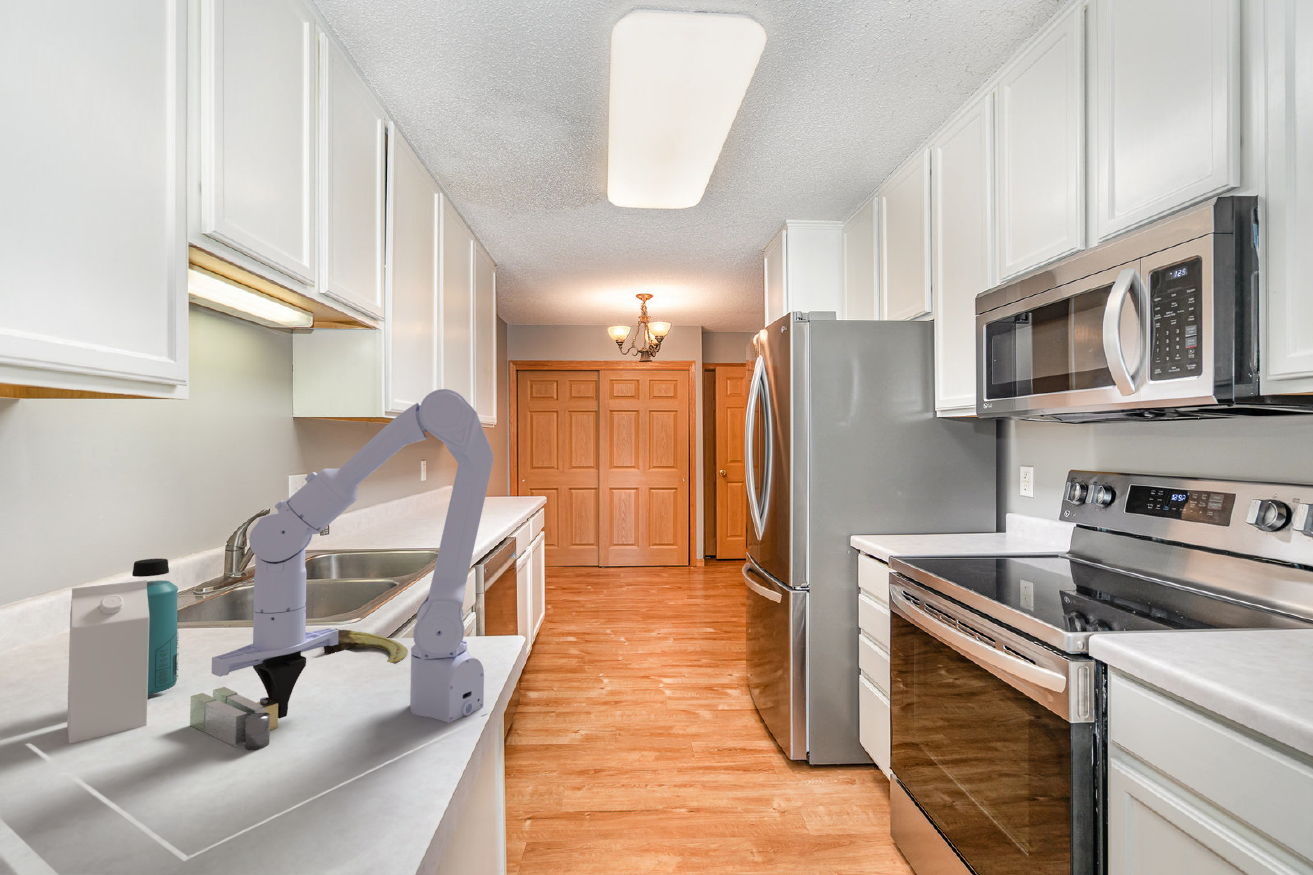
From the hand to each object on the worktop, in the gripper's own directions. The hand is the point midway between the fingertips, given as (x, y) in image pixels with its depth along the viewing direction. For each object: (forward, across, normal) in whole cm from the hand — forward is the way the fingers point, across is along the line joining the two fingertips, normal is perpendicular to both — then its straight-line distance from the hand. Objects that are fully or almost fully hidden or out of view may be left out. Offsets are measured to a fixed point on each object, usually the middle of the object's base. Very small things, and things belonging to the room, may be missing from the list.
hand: (278, 715), depth 79 cm
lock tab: (+1, +2, 0) cm, 2 cm away
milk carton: (+3, +12, -18) cm, 21 cm away
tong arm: (+1, +3, -3) cm, 5 cm away
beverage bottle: (+3, +4, -28) cm, 28 cm away
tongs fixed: (+1, +5, -2) cm, 5 cm away
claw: (+3, -26, -20) cm, 33 cm away
